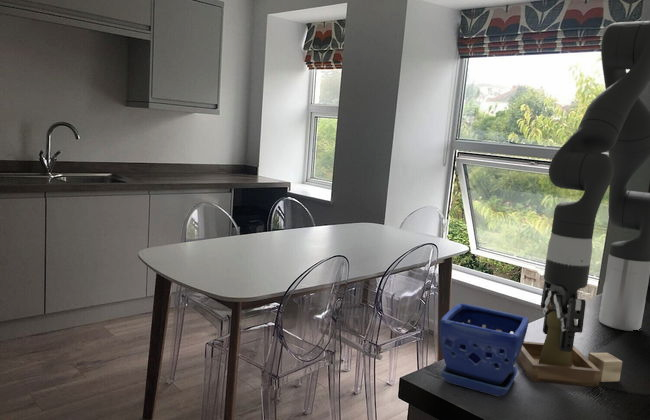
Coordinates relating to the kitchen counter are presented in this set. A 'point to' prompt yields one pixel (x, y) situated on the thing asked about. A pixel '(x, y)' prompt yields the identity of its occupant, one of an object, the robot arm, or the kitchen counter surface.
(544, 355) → the cork
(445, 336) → the flower pot
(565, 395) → the kitchen counter surface
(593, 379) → the tray
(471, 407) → the kitchen counter surface
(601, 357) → the beech block
